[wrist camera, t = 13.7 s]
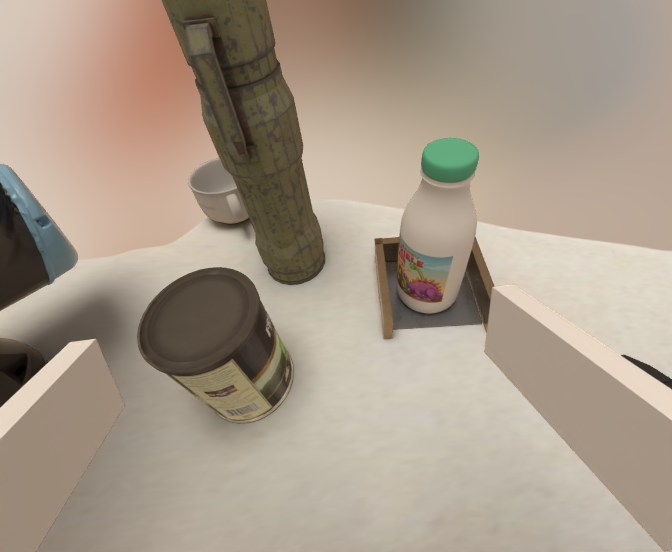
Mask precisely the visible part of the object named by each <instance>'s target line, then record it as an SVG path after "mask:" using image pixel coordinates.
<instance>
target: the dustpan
mask: <svg viewBox="0 0 672 552" xmlns="http://www.w3.org/2000/svg"><path fill="white" fill-rule="evenodd" d="M398 250H399V237H395V238H383V239H382V238H377V239H375V262H376V271H377V280H378V289H379V299H380V308H381V317H382V326H383V335H384V339H389V338H392V333H393V329H408V328H424V327H441V326H457V325H474V324H482V321H483V324H484V327H485V330H486V333H487V326H488V318H489V310H490V302H491V294H492V287H494V284H493V282H492V279H491V276H490V274H489V271H488V268H487V266H486V263H485V261H484V258H483V255H482V253H481V250H480V248H479V245H478V242H477V240H476V237H475V238H474V242H473V246H472V250H471V253H470V257H469V260H468V263H467V267H466V271H465V273H464V277H463V280H462V283H461V286H460V289H459V293H458V295H457V298H456V300H455V302H454V303H453V304H452V305H451V306H450V307H449V308H447V309H445V310H443V311H441V312H437V313H431V314H428V313H421V312H417V311H415V310H412V309H411V308H409V307H408V306H407V305H406V304H404V303H403V301H402V300H401V299H400V297H399V295H398V292H397V266H398ZM466 272H467V274H466ZM467 275H468V277H467ZM468 278H469V280H468ZM469 281H470V283H469ZM470 284H471V286H470ZM471 287H472V289H471ZM472 290H473V292H472ZM473 293H474V295H473ZM474 296H475V299H476V302H477V305H476V302H475V299H474ZM477 306H478V308H477ZM478 309H479V311H478ZM479 312H480V314H479ZM480 315H481V317H480ZM481 318H482V320H481Z"/></svg>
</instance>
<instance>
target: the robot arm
mask: <svg viewBox="0 0 672 552" xmlns="http://www.w3.org/2000/svg"><path fill="white" fill-rule="evenodd" d="M77 261H78V254H77V252H76V250H75V248H74V247H73V246H72V244H71V243H70V242H69V240H68V239H67V238H66V236H65V235H64V234H63V232H62V231H61V230H60V228H59V227H58V226H57V224H56V223H55V222H54V221H53V219H52V218H51V217H50V215H49V214H48V213H47V212H46V210H45V209H44V208H43V207H42V206H41V204H40V203H39V202H38V200H37V199H36V198H35V197H34V195H33V194H32V193H31V192H30V190H29V189H28V188H27V186H26V185H25V184H24V183H23V182H22V180H21V179H20V178H19V177H18V176H17V174H16V173H15V172H14V171H13V170H12V169H11V168H10V167H9V166H7V165H4V164H0V311H1V310H3V309H5V308H6V307H8V306H10V305H12V304H14V303H15V302H17V301H19V300H21V299H23V298H25V297H26V296H28V295H30V294H32V293H34V292H35V291H37V290H39V289H41V288H43V287H44V286H46V285H50V284H52V283H53V282H54V280H55V279H56V278H58V277H59V276H61V275H62V274H64V273H65V272H67V271H69V270H70V269H72V268H73V267H74V266H75V265H76V263H77ZM484 352H485V353H486V355H487V356H488V357H489V358H490V359H491V360H492V361H493V362H494V363H495V365H496V366H497V367H498V368H499V369H500V370H501V371H502V372H503V373H504V374H505V376H506V377H507V378H508V379H509V380H510V381H511V382H512V383H513V384H514V386H515V387H516V388H517V389H518V390H519V391H520V392H521V393H522V394H523V396H524V397H525V398H526V399H527V400H528V401H529V402H530V403H531V404H532V405H533V407H534V408H535V409H536V410H537V411H538V412H539V413H540V414H541V415H542V417H543V418H544V419H545V420H546V421H547V422H548V423H549V424H550V425H551V427H552V428H553V429H554V430H555V431H556V432H557V433H558V434H559V435H560V437H561V438H562V439H563V440H564V441H565V442H566V443H567V444H568V445H569V446H570V448H571V449H572V450H573V451H574V452H575V453H576V454H577V455H578V456H579V458H580V459H581V460H582V461H583V462H584V463H585V464H586V465H587V466H588V468H589V469H590V470H591V471H592V472H593V473H594V474H595V475H596V476H597V478H598V479H599V480H600V481H601V482H602V483H603V484H604V485H605V486H606V487H607V489H608V490H609V491H610V492H611V493H612V494H613V495H614V496H615V497H616V499H617V500H618V501H619V502H620V503H621V504H622V505H623V506H624V507H625V509H626V510H627V511H628V512H629V513H630V514H631V515H632V516H633V517H634V518H635V520H636V521H637V522H638V523H639V524H640V525H641V526H642V527H643V528H644V530H645V531H646V532H647V533H648V534H649V535H650V536H651V537H652V538H653V540H654V541H655V542H656V543H657V544H658V545H659V546H660V547H661V548H662V550H663V551H664V552H665V551H669V550H672V379H670V378H669V377H667V376H666V375H664V374H663V373H661V372H659V371H658V370H656V369H655V368H653V367H652V366H650V365H647V364H645V363H643V362H640V361H638V360H636V359H633V358H631V357H629V356H626V355H619V354H617V353H616V352H614V351H613V350H611V349H610V348H608V347H607V346H605V345H604V344H602V343H601V342H599V341H598V340H596V339H595V338H593V337H592V336H590V335H589V334H587V333H586V332H584V331H583V330H581V329H580V328H578V327H577V326H575V325H574V324H572V323H571V322H569V321H568V320H566V319H565V318H563V317H562V316H560V315H559V314H557V313H556V312H554V311H553V310H551V309H550V308H548V307H547V306H545V305H544V304H542V303H541V302H539V301H537V300H536V299H534V298H533V297H531V296H530V295H528V294H527V293H525V292H524V291H522V290H521V289H519V288H518V287H516V286H515V285H513V284H512V285H504V286H496V287H492V294H491V302H490V310H489V318H488V326H487V334H486V342H485V350H484ZM124 406H125V404H124V402H123V400H122V398H121V395H120V393H119V391H118V388H117V386H116V384H115V381H114V379H113V377H112V374H111V372H110V370H109V368H108V365H107V363H106V361H105V358H104V356H103V354H102V351H101V349H100V347H99V345H98V342H97V340H96V339H90V340H83V341H75V342H70V343H69V344H68V345H66V346H65V347H64V348H63V349H62V350H61V351H60V352H59V353H58V354H57V355H56V356H55V357H54V358H53V359H52V360H51V361H49V362H48V363H47V364H46V365H45V362H44V359H43V357H42V356H41V354H40V353H39V352H37V351H36V350H34V349H32V348H30V347H29V346H27V345H25V344H23V343H21V342H18V341H15V340H10V339H4V338H0V552H36V551H37V549H38V547H39V546H40V544H41V542H42V541H43V539H44V537H45V536H46V534H47V533H48V531H49V529H50V528H51V526H52V524H53V523H54V521H55V519H56V518H57V516H58V514H59V513H60V511H61V510H62V508H63V506H64V505H65V503H66V501H67V500H68V498H69V496H70V495H71V493H72V492H73V490H74V488H75V487H76V485H77V483H78V482H79V480H80V478H81V477H82V475H83V473H84V472H85V470H86V469H87V467H88V465H89V464H90V462H91V460H92V459H93V457H94V455H95V454H96V452H97V451H98V449H99V447H100V446H101V444H102V442H103V441H104V439H105V437H106V436H107V434H108V432H109V431H110V429H111V428H112V426H113V424H114V423H115V421H116V419H117V418H118V416H119V414H120V413H121V411H122V410H123V408H124Z"/></svg>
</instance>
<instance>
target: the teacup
mask: <svg viewBox="0 0 672 552" xmlns="http://www.w3.org/2000/svg"><path fill="white" fill-rule="evenodd" d="M188 185H189V187H190V188H191V189H192V191H193V193H194V196H195V198H196V199H197V202H198V203H199V205H200V207H201V209H202V210H203V212H204V213H205V214H206V215H207V216H208V217H209V218H211V219H212V220H214V221H217V222H222V223H229V224H233V223H239V222H242V221H244V220H246V219H248V218H249V216H248V213H247V211H246V208H245V206H244V203H243V201H242V199H241V196H240V194H239V191H238V189H237V187H236V184H235V182H234V179H233V177H232V175H231V174H230V173H229V172H228V171H227V170H225V169H224V167H223V165H222V162H221V160H220V158H216V159H213V160H210V161H207V162H205V163H203V164H201V165H200V166H198V167H197V168H196V169H194V171H193V172H192V173H191V174H190V176H189V178H188Z"/></svg>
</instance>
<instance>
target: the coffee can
mask: <svg viewBox="0 0 672 552" xmlns="http://www.w3.org/2000/svg"><path fill="white" fill-rule="evenodd" d="M137 339H138V347H139V350H140V353H141V355H142V356H143V358H144V359H145V360H146V361H147V362H148V363H149V364H150V365H151V366H153V367H154V368H155V369H157V370H159V371H161V372H163V373H165V374H167V375H168V376H169V377H171V378H172V379H173V380H175V381H176V382H177V383H178V384H180V385H181V386H182V387H184V388H185V389H186V390H188V391H189V392H190V393H192V394H193V395H194V396H195V397H197V398H198V399H200V400H201V401H202V402H204V403H205V404H206V405H208V406H209V407H210V408H212V409H213V410H214V411H215V412H216V413H217V414H218V415H219V416H220V417H222V418H223V419H225V420H228V421H230V422H234V423H248V422H253V421H256V420H259V419H262V418H263V417H265V416H267V415H269V414H270V413H271V412H273V411H274V410H275V409H276V408H277V407H278V406H279V405H280V404H281V403H282V402H283V400H284V399H285V397H286V396H287V394H288V392H289V390H290V387H291V384H292V381H293V363H292V360H291V357H290V355H289V353H288V351H287V350H286V349H285V347H284V345H283V343H282V341H281V339H280V337H279V335H278V333H277V332H276V330H275V328H274V326H273V324H272V322H271V320H270V318H269V316H268V314H267V312H266V310H265V308H264V306H263V304H262V302H261V300H260V297H259V294H258V292H257V290H256V287H255V285H254V284H253V282H252V281H251V280H250V279H249V278H248V277H247V276H246V275H244V274H242V273H241V272H239V271H236V270H233V269H229V268H222V267H217V268H206V269H201V270H198V271H195V272H192V273H189V274H187V275H185V276H183V277H181V278H179V279H177V280H175V281H174V282H172V283H171V284H170V285H168V286H167V287H166V288H164V289H163V290H162V291H161V292H160V293H159V294H158V295H157V296H156V297H155V298H154V299H153V300H152V302H151V303H150V304H149V306H148V307H147V309H146V311H145V312H144V314H143V316H142V319H141V321H140V324H139V328H138V336H137Z"/></svg>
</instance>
